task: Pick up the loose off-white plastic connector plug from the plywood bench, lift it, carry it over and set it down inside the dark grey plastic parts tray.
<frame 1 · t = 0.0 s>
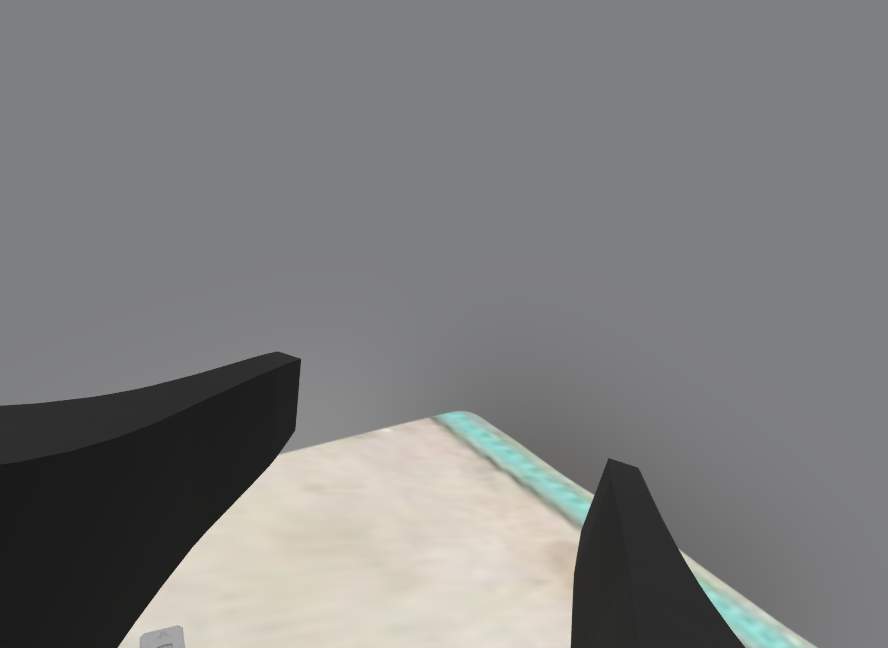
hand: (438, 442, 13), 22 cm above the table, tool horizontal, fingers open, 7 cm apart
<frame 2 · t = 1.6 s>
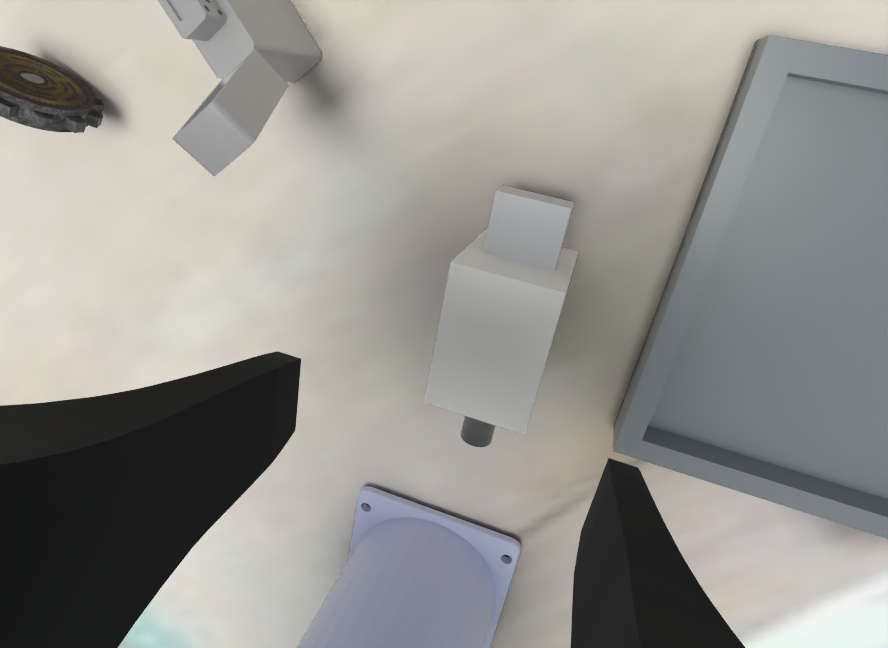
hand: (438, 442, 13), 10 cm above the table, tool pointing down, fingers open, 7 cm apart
gear: (88, 89, 24), on the table
lighter: (301, 57, 21), on the table
plug: (516, 300, 22), on the table
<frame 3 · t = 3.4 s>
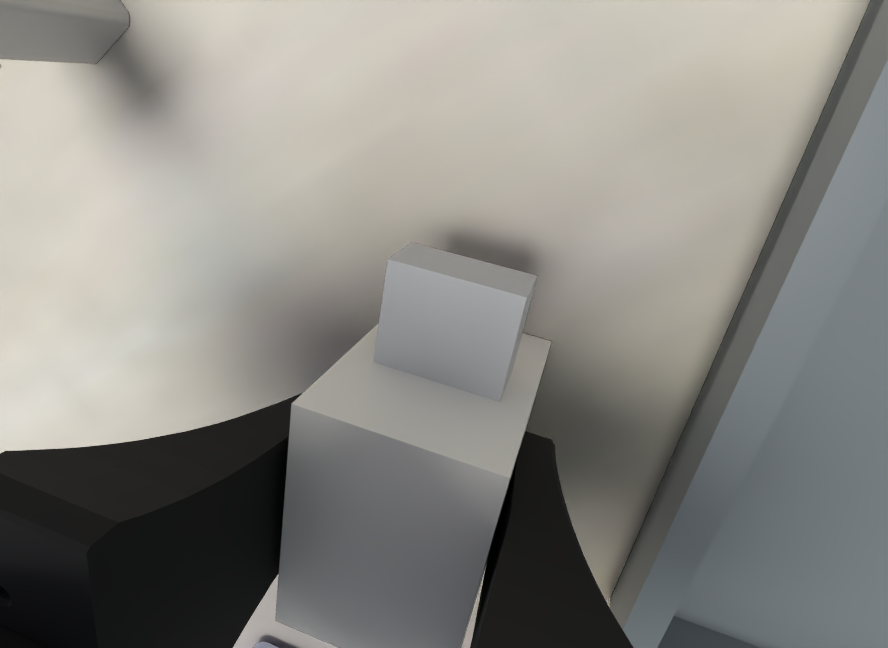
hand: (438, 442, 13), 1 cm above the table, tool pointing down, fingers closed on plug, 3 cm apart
lighter: (103, 22, 13), on the table
plug: (455, 410, 14), on the table, touching gripper
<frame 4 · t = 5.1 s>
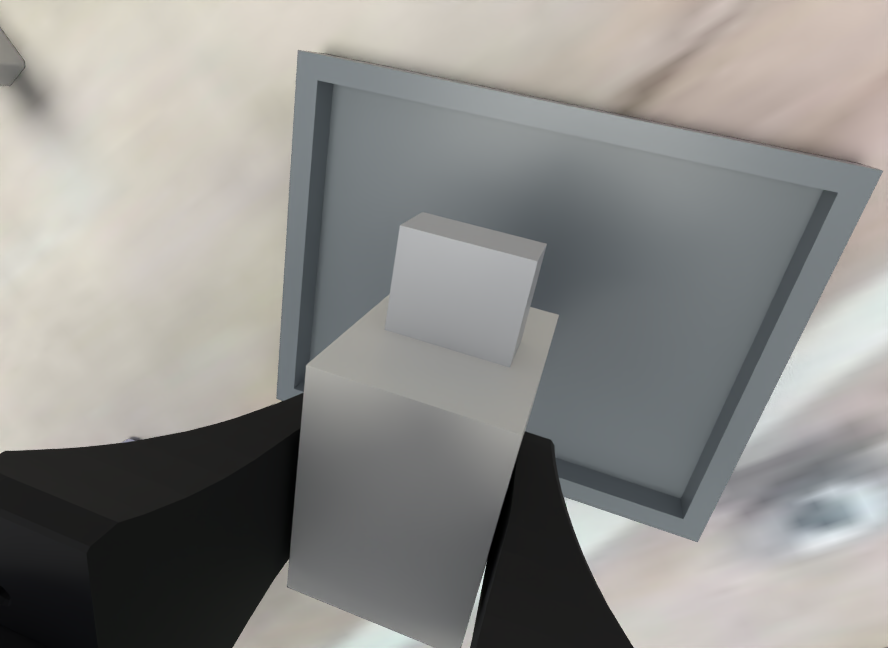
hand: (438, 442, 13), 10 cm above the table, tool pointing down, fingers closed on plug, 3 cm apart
tray: (518, 294, 22), on the table
lighter: (12, 64, 25), on the table
plug: (463, 386, 14), point 9 cm above the table, touching gripper
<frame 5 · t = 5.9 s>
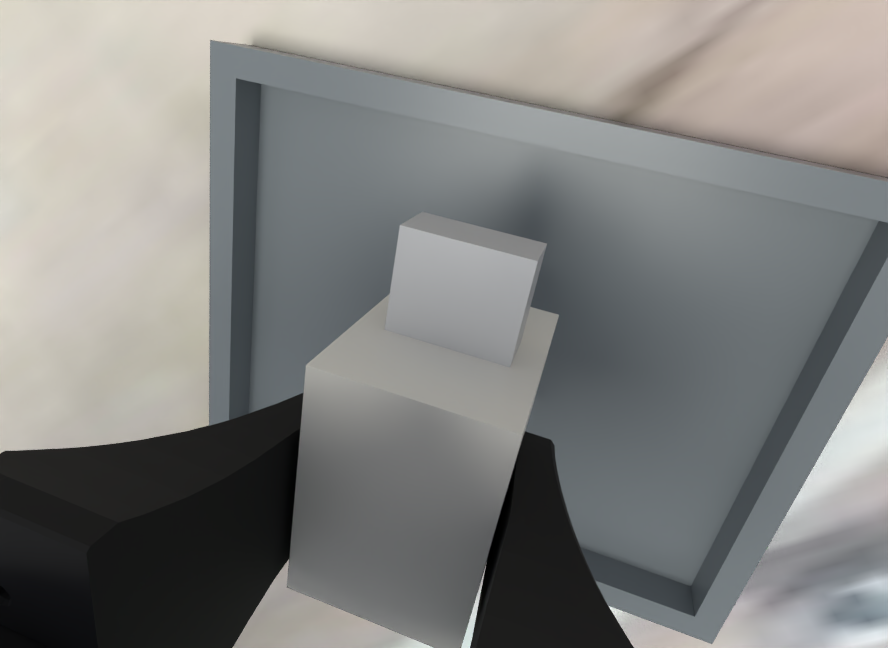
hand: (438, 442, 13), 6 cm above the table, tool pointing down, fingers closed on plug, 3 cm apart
tray: (493, 340, 18), on the table
plug: (463, 386, 14), point 4 cm above the table, touching gripper
when the fingers open (3 cm above the table, at t = 6.8 s): plug stays where it is, resting on tray.
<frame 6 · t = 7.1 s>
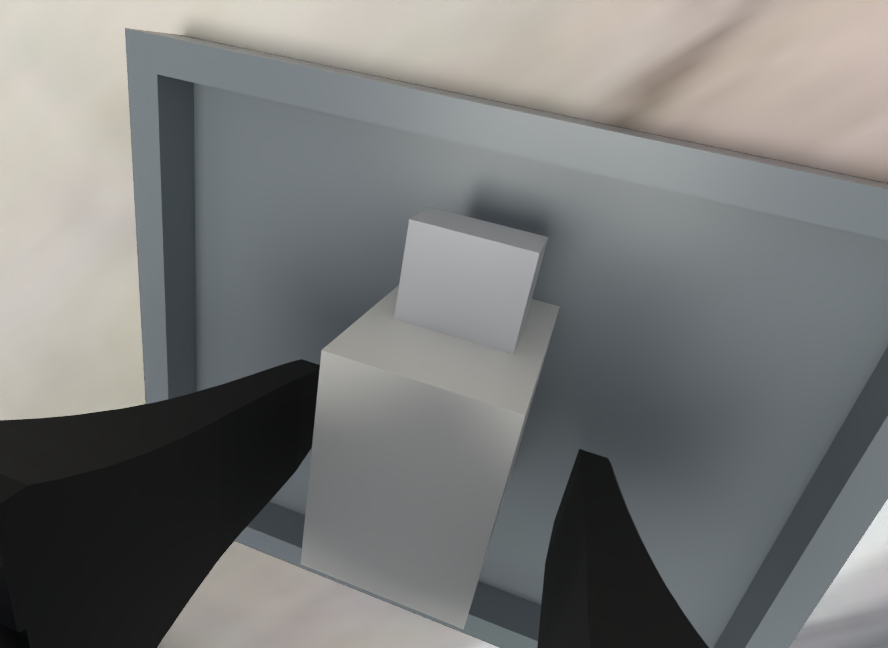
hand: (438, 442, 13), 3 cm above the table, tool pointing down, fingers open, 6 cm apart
tray: (471, 381, 15), on the table
plug: (467, 375, 15), point 1 cm above the table, touching tray
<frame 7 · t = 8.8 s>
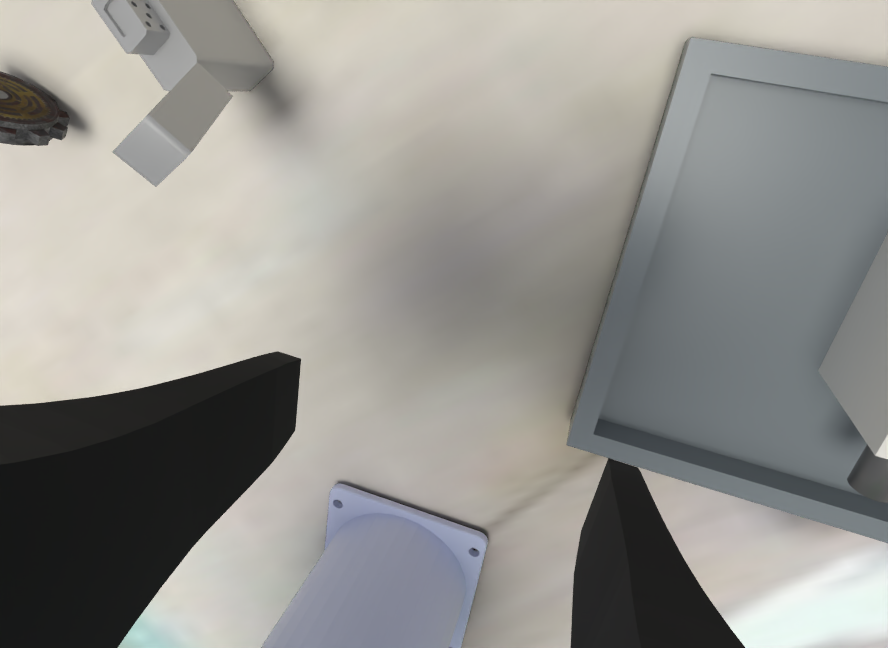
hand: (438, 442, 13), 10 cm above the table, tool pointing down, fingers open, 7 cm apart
gear: (55, 102, 25), on the table
lighter: (255, 66, 22), on the table
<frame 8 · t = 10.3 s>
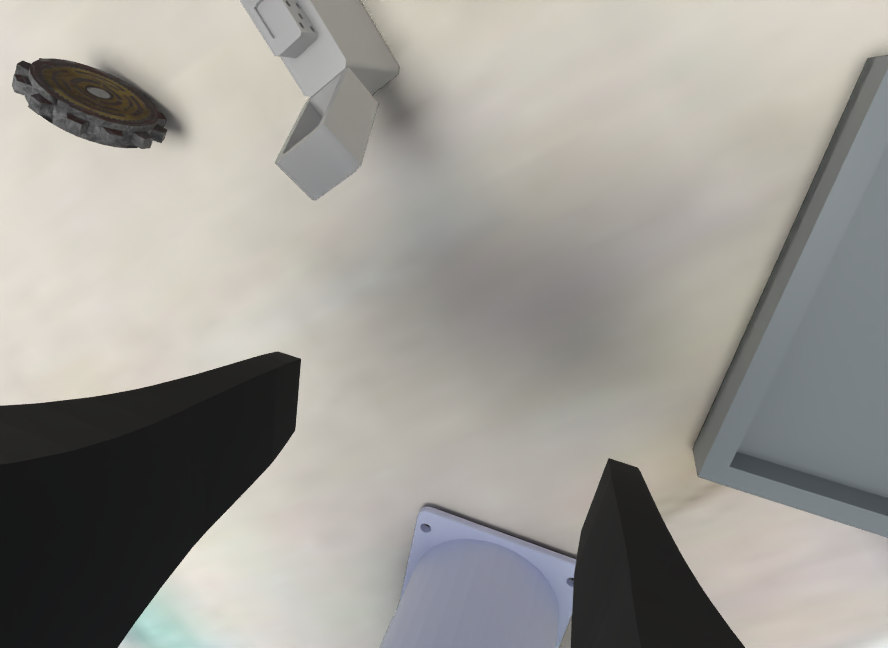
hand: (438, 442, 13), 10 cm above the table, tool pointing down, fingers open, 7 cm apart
gear: (149, 102, 24), on the table
lighter: (377, 71, 21), on the table
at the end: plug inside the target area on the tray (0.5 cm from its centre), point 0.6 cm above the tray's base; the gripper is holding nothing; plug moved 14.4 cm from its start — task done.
